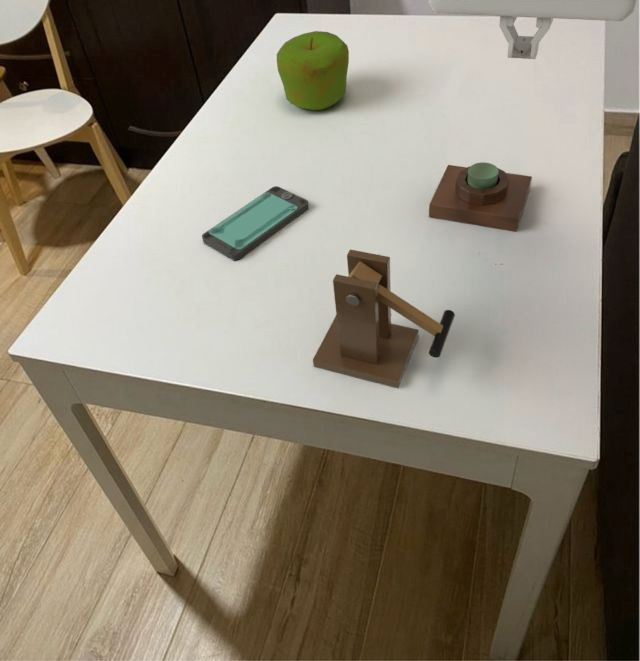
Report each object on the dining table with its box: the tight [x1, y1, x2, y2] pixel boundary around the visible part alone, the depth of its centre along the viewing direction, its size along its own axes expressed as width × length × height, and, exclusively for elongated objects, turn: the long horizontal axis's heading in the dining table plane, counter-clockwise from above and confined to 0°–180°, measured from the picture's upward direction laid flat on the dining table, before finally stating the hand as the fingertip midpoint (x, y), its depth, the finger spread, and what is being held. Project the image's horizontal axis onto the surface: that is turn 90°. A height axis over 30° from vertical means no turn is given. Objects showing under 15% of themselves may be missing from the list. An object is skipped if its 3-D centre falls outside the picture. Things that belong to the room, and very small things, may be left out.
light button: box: [467, 161, 499, 189], centre depth 89 cm, size 4×4×2 cm
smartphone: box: [201, 185, 310, 261], centre depth 93 cm, size 7×1×15 cm
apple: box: [276, 30, 350, 112], centre depth 113 cm, size 12×12×11 cm
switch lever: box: [347, 261, 456, 359], centre depth 68 cm, size 12×6×2 cm
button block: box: [428, 164, 533, 232], centre depth 91 cm, size 12×10×4 cm
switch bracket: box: [312, 249, 420, 389], centre depth 71 cm, size 10×8×13 cm
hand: (522, 56), depth 71 cm, fingers closed
